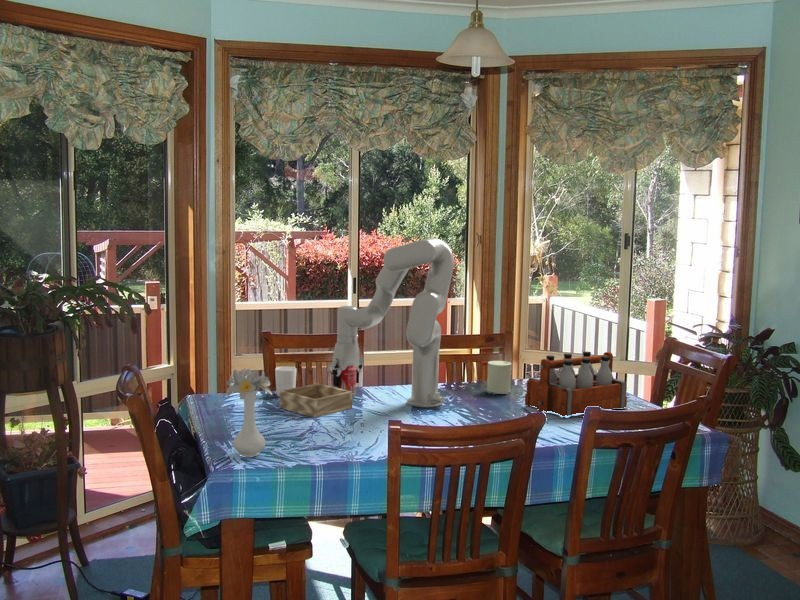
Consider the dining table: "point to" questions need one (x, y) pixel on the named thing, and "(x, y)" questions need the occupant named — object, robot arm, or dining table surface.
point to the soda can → (348, 379)
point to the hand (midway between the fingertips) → (346, 384)
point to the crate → (316, 400)
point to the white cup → (285, 378)
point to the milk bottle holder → (575, 385)
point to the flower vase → (248, 410)
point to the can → (499, 376)
